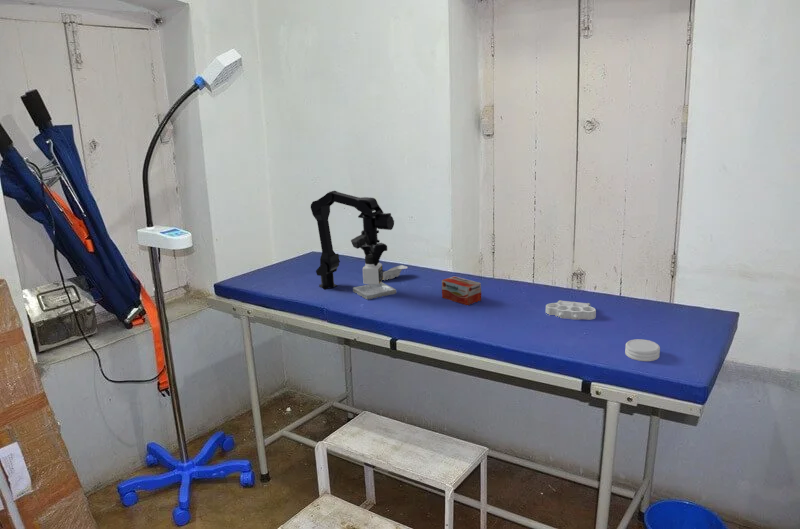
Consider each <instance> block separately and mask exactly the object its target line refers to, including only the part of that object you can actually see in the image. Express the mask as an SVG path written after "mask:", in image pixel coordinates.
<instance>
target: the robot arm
mask: <svg viewBox="0 0 800 529" xmlns="http://www.w3.org/2000/svg"><path fill="white" fill-rule="evenodd" d="M334 203H338V204H341V205H345V206H349V207H353V208H355V209H356V210H357V211H358V212H359V213H360V214H359V215H358V216H357V217H358V219H360V218H361V219H362V227H363V230H361V232H360V233H361V234H360V235H357V236H356V237H354V238H352V239H350V242H351V244H352V247H353V248H355V249H361V250H363V253H364V256H366V255H369V254H372V256H373V261H374V266H377V264H378V262H379V263H380V259H381V257H382V254H383V253H384V252H387V251H388V245H387V244H386V243H383V242H380V241H381V240H380V239H379V238H378V234H380V231H379V230H385V231H386V230H387V231H392V230H393V229H394V225H395V220H394V218H393V216H392V213H391V212H390V213H389V212H387V213H386V212H385V213H384V211H383V209H382V208H381V206H380V205H379V203H378V201H377V199H376V198H374V197H366V196H364V197H359V196H355V195H350V194H346V193H343V192H339V191H338V190H332V191H327V193H326V194H325V195H323V196H322V197H320V198H319V199H316V200H314V201H312V202H311V203H310V210H311V214H312V216H313V218H315V220H316V224H317V229H318V234H319V236H318V237H319V241H320V247H321V255H320V259H319V267H318V268H317V269H316V270H315V273H316V275H317V276H320V282H321V284H318V286H319V287H320V288H321V289H323V290H326V289H327V290H328V289H331V288H336V287H338V284H336V283H335V276H334V273H335V272H337V270H338V268H339V266H340V263H341V261H340V256H339V253H336V252H335V251H334V248H333V241H332V235H331V227H330V224H329V223H330V222H329V217H330V214H331V206H332V205H334Z"/></svg>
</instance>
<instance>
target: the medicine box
mask: <svg viewBox="0 0 800 529" xmlns="http://www.w3.org/2000/svg"><path fill="white" fill-rule="evenodd" d="M481 284H482V283H481V282H479V281H474V280H472V279H467V278H463V277H459V276H451V277H447V278H444V279H441V296H442V297H441V298H442V299H445V300H449V301H450V302H455V303H458V304H461V305H463V306H467V305H468V306H470V304H471V305H473V304H475V302H476V303H478V301H479V302H481V301H482V285H481Z"/></svg>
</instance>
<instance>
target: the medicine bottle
mask: <svg viewBox="0 0 800 529" xmlns="http://www.w3.org/2000/svg"><path fill="white" fill-rule="evenodd" d="M364 256H365V255H364ZM364 263H365V264H364V266H363V267H362V282H363V285H368V284H380V283H381V282H382V280H383V272H384V271H383V270H384V269H383V263H381V264H379V263H380V261H379V262H378V264H377V266H374V261H373V256H372V254H369V255H366V256H365V257H364Z"/></svg>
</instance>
